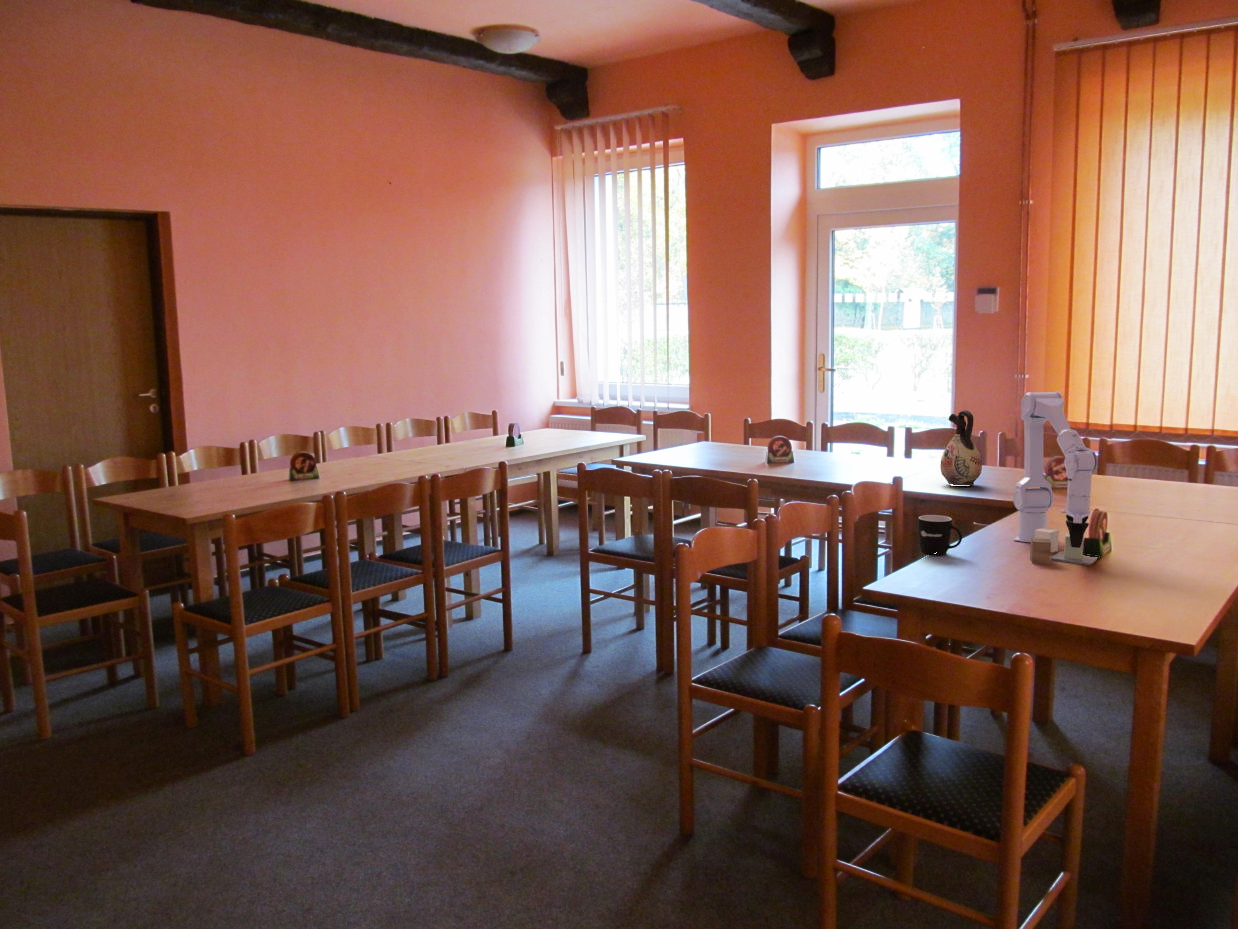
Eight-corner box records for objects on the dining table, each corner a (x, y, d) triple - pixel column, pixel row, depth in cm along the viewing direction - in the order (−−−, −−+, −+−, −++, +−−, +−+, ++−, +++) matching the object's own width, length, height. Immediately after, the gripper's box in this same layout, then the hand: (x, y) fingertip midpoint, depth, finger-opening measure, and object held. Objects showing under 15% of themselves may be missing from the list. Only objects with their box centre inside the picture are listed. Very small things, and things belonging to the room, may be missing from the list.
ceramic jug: (931, 483, 390) (934, 408, 385) (964, 481, 394) (967, 407, 390) (958, 490, 374) (961, 412, 369) (992, 488, 378) (995, 410, 374)
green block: (1064, 554, 271) (1065, 533, 270) (1082, 555, 269) (1083, 534, 268) (1064, 558, 267) (1065, 536, 266) (1082, 559, 265) (1083, 537, 264)
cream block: (1042, 548, 281) (1043, 527, 280) (1057, 551, 278) (1058, 530, 277) (1034, 550, 278) (1035, 529, 278) (1049, 553, 275) (1050, 532, 274)
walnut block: (1030, 559, 269) (1031, 537, 268) (1047, 560, 267) (1049, 538, 266) (1031, 563, 264) (1032, 541, 264) (1049, 564, 263) (1051, 542, 262)
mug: (912, 554, 275) (914, 519, 274) (922, 548, 282) (923, 513, 281) (956, 560, 268) (958, 523, 267) (965, 553, 276) (966, 518, 274)
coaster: (1060, 553, 275) (1060, 551, 275) (1099, 558, 269) (1099, 556, 269) (1050, 560, 267) (1050, 558, 267) (1090, 565, 261) (1090, 563, 261)
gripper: (1062, 489, 273) (1059, 537, 276) (1062, 498, 260) (1059, 548, 262) (1090, 491, 271) (1087, 539, 273) (1091, 500, 257) (1088, 551, 260)
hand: (1075, 544), depth 267 cm, fingers open, 7 cm apart
